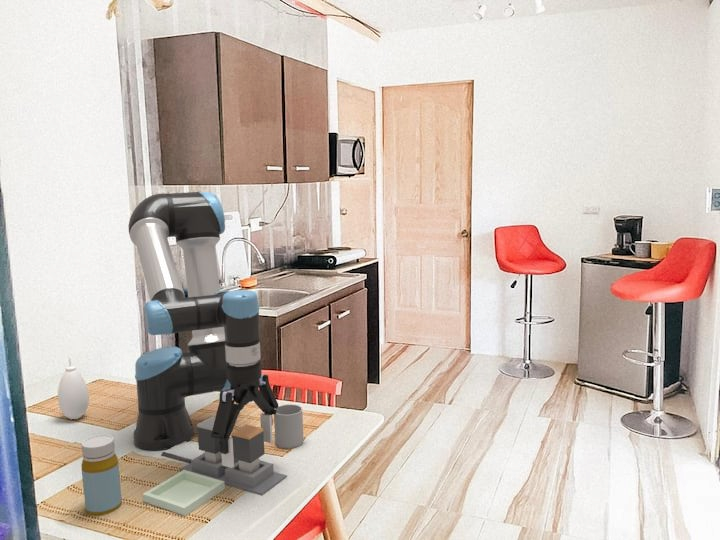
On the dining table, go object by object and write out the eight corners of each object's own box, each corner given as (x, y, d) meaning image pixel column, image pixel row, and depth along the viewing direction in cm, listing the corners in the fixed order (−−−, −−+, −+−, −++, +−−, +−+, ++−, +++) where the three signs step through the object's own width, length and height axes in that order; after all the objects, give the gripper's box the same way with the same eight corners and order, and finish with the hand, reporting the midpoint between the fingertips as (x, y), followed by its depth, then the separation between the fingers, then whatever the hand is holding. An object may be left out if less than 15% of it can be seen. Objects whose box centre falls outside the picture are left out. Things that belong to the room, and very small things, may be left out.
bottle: (92, 501, 134) (86, 434, 131) (126, 498, 134) (120, 433, 132) (81, 518, 127) (74, 449, 124) (116, 516, 127) (110, 447, 125)
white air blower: (96, 414, 182) (90, 354, 179) (79, 424, 174) (73, 362, 171) (71, 412, 183) (65, 353, 180) (54, 423, 175) (48, 361, 173)
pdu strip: (149, 464, 150) (145, 416, 148) (176, 449, 157) (173, 403, 156) (262, 497, 133) (259, 444, 131) (287, 479, 141) (284, 428, 139)
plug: (233, 479, 139) (231, 432, 138) (248, 469, 144) (245, 424, 142) (251, 484, 137) (249, 436, 135) (265, 474, 141) (263, 428, 140)
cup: (284, 451, 155) (283, 417, 154) (264, 438, 163) (262, 406, 161) (309, 443, 159) (307, 410, 158) (288, 431, 167) (286, 399, 166)
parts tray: (143, 504, 132) (142, 494, 131) (184, 479, 142) (183, 469, 142) (185, 518, 126) (184, 508, 126) (225, 491, 136) (224, 481, 136)
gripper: (217, 381, 123) (223, 481, 127) (291, 348, 145) (294, 435, 148) (189, 376, 127) (196, 473, 131) (265, 344, 149) (269, 429, 152)
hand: (248, 453), depth 140 cm, fingers open, 13 cm apart
